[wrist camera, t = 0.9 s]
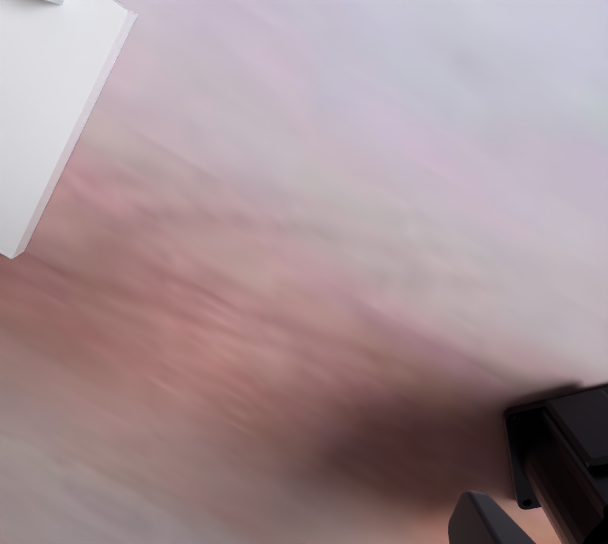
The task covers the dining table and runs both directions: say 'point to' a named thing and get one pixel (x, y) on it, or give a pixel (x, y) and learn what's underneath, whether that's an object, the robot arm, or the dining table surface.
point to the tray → (48, 97)
